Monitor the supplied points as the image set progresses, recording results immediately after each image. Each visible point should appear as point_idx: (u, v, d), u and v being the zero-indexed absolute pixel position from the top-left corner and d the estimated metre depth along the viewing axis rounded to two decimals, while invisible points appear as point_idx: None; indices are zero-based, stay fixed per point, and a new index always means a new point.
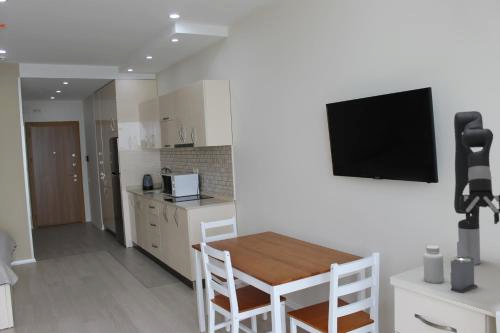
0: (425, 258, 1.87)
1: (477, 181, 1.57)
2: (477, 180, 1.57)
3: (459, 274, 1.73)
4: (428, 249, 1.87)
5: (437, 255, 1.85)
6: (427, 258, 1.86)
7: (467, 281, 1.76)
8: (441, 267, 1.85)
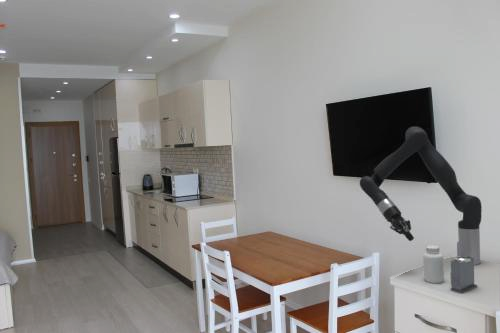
0: (425, 258, 1.87)
1: None
2: None
3: (459, 274, 1.73)
4: (428, 249, 1.87)
5: (437, 255, 1.85)
6: (427, 258, 1.86)
7: (467, 281, 1.76)
8: (441, 267, 1.85)
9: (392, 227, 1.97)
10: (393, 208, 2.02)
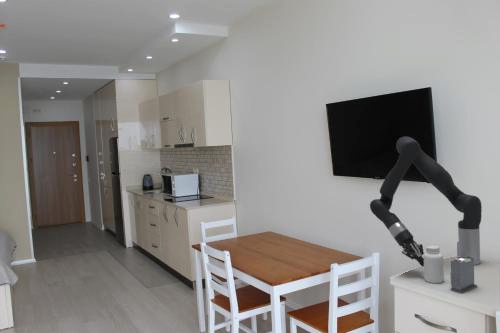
0: (425, 258, 1.87)
1: None
2: None
3: (459, 274, 1.73)
4: (428, 249, 1.87)
5: (437, 255, 1.85)
6: (427, 258, 1.86)
7: (467, 281, 1.76)
8: (441, 267, 1.85)
9: (404, 252, 1.94)
10: (405, 232, 1.98)
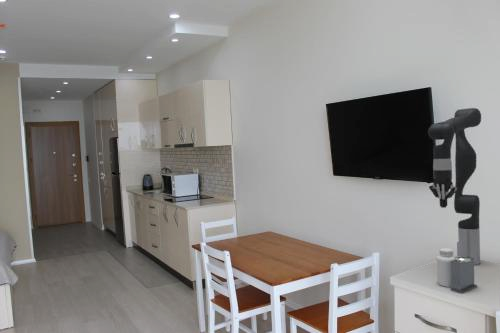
0: (439, 261, 1.81)
1: (435, 172, 1.90)
2: (435, 171, 1.90)
3: (459, 274, 1.73)
4: (442, 252, 1.81)
5: (452, 258, 1.80)
6: (441, 261, 1.81)
7: (467, 281, 1.76)
8: None
9: (455, 189, 1.87)
10: None
